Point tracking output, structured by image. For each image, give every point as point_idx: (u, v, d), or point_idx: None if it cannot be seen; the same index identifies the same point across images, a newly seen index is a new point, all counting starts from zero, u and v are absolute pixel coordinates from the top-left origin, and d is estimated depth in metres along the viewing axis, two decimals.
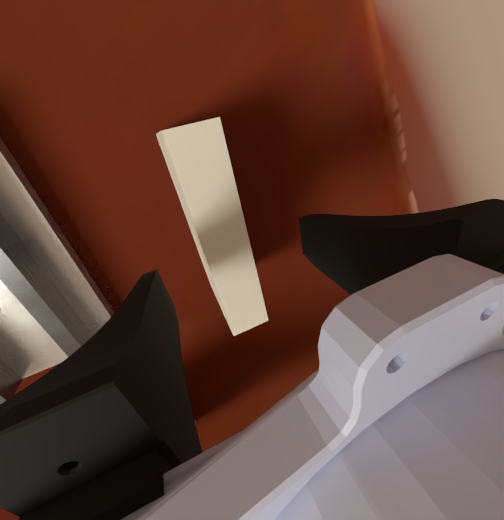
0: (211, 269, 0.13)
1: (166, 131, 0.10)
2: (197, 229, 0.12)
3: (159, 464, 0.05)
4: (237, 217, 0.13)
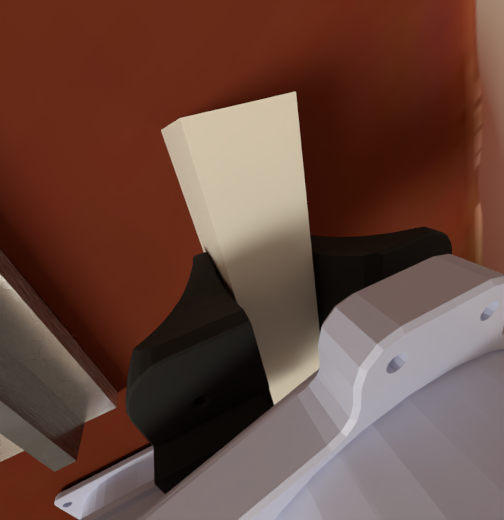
0: None
1: (189, 120, 0.05)
2: (237, 298, 0.07)
3: None
4: (304, 272, 0.07)
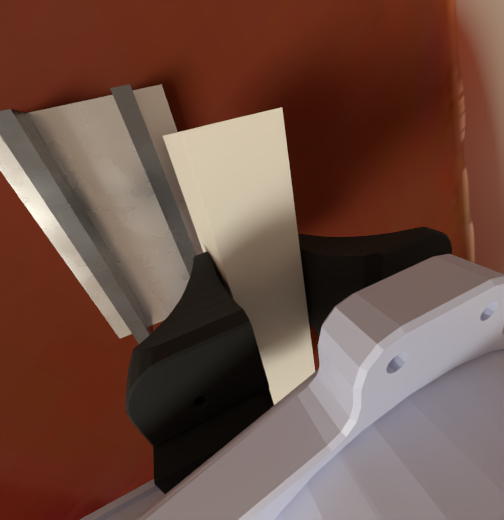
0: None
1: (189, 133, 0.05)
2: (232, 290, 0.08)
3: None
4: (293, 267, 0.08)
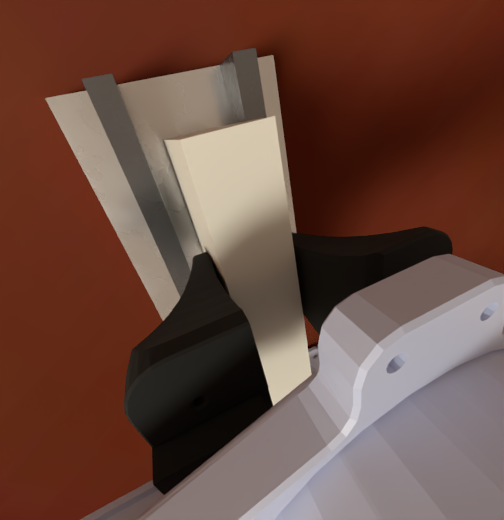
0: None
1: (187, 141, 0.06)
2: (229, 288, 0.08)
3: None
4: (287, 266, 0.08)
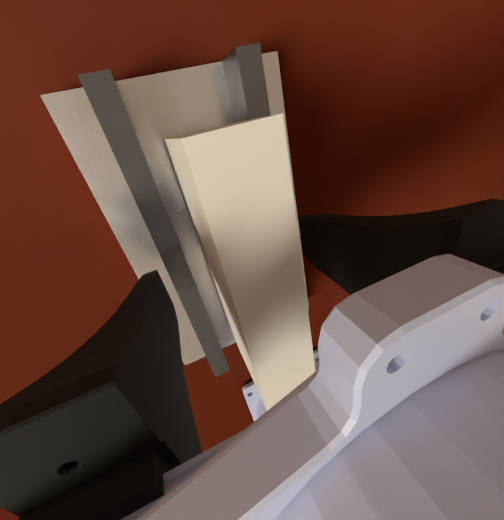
0: (249, 347, 0.09)
1: (190, 139, 0.05)
2: (233, 295, 0.08)
3: (159, 464, 0.05)
4: (293, 272, 0.08)
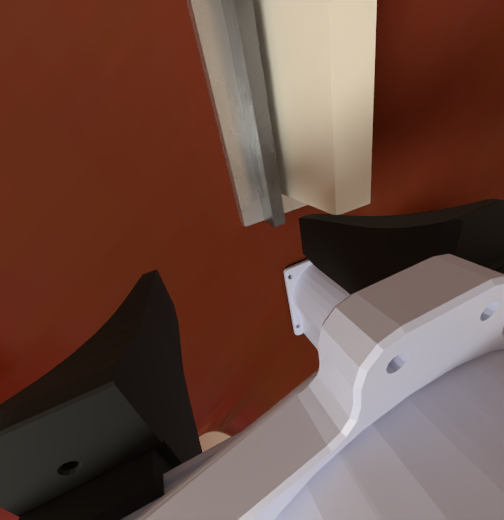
0: (333, 117, 0.12)
1: None
2: (331, 56, 0.11)
3: (159, 464, 0.05)
4: (369, 50, 0.11)
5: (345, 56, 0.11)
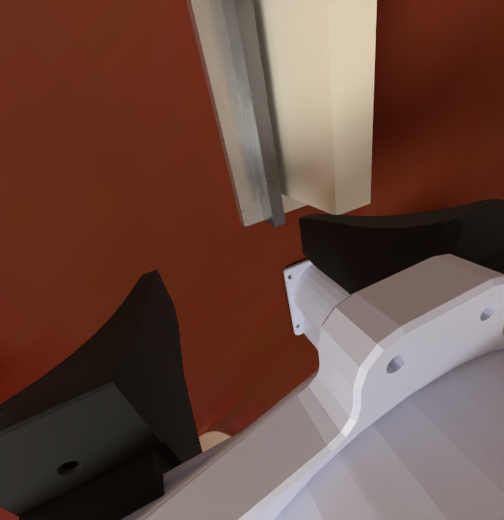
0: (333, 117, 0.12)
1: None
2: (331, 56, 0.11)
3: (159, 464, 0.05)
4: (369, 50, 0.11)
5: (345, 56, 0.11)
